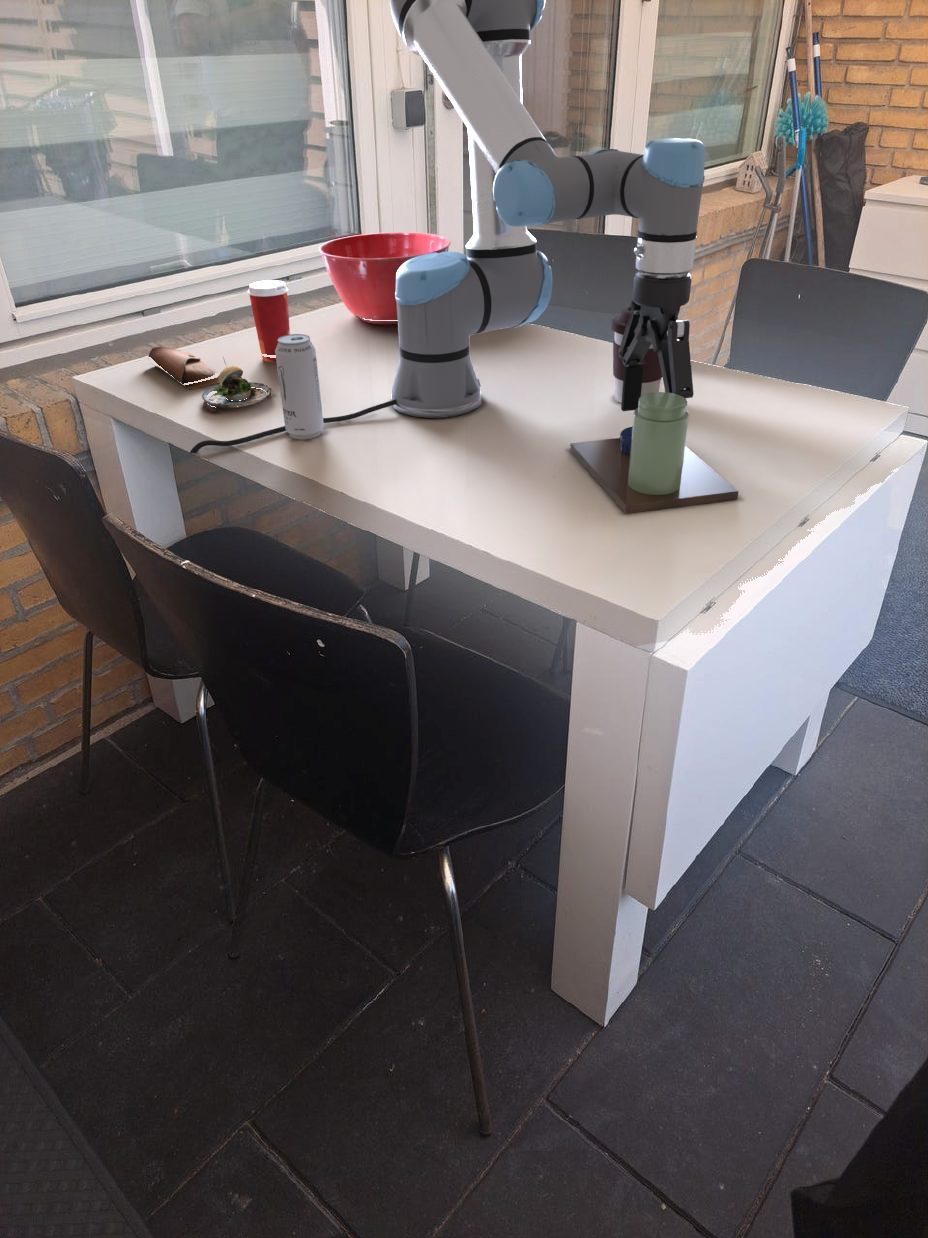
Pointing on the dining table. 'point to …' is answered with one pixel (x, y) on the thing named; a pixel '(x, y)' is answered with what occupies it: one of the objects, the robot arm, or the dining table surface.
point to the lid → (625, 440)
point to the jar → (658, 443)
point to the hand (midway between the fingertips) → (648, 425)
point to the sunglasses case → (184, 366)
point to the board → (613, 477)
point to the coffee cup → (650, 369)
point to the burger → (234, 390)
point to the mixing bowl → (374, 269)
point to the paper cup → (269, 314)
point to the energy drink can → (299, 386)
